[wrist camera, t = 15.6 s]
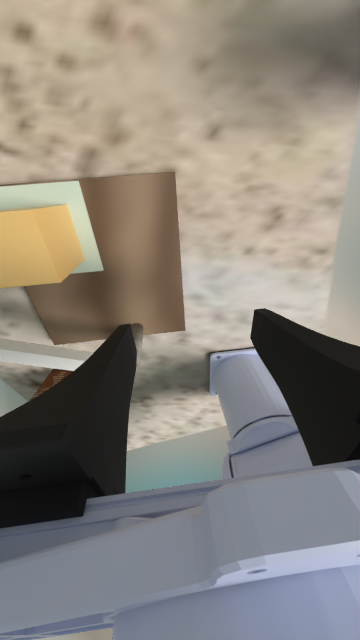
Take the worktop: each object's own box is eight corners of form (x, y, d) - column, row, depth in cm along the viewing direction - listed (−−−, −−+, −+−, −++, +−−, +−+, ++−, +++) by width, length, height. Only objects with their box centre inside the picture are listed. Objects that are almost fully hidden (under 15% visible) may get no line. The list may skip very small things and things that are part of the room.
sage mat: (78, 180, 14) (77, 180, 14) (103, 269, 18) (102, 270, 17) (-16, 188, 14) (-19, 187, 14) (28, 276, 17) (26, 278, 17)
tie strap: (-63, 323, 13) (-81, 333, 12) (134, 354, 16) (133, 365, 15) (-55, 345, 14) (-71, 357, 13) (130, 371, 17) (128, 382, 16)
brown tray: (173, 172, 15) (182, 163, 10) (184, 325, 23) (191, 363, 18) (-19, 187, 15) (-111, 185, 10) (58, 339, 22) (29, 382, 17)
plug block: (67, 204, 15) (31, 209, 10) (85, 259, 17) (60, 282, 13) (10, 208, 14) (-51, 215, 10) (35, 264, 17) (-6, 288, 12)
